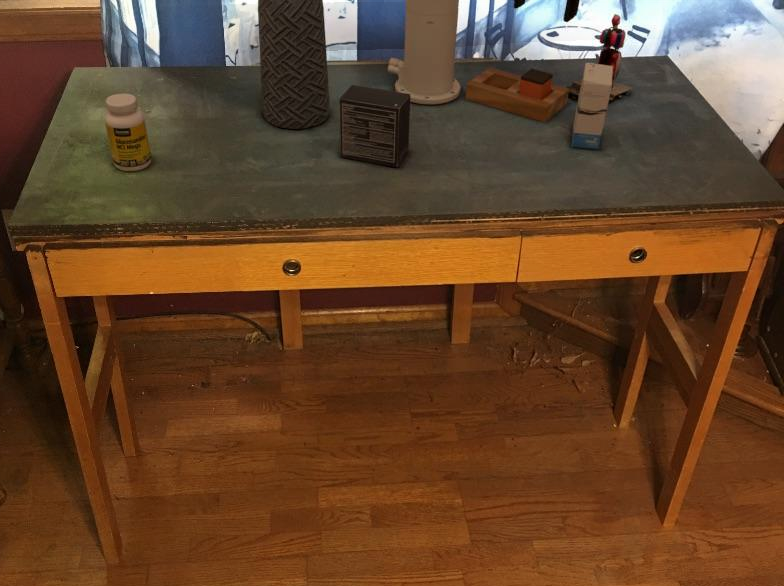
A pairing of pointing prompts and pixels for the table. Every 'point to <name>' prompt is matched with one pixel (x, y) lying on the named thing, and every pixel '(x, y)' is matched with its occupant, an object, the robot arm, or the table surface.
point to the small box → (374, 125)
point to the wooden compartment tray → (514, 95)
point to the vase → (293, 62)
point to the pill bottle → (127, 133)
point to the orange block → (536, 84)
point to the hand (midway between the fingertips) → (543, 12)
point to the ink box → (592, 105)
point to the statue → (608, 58)
